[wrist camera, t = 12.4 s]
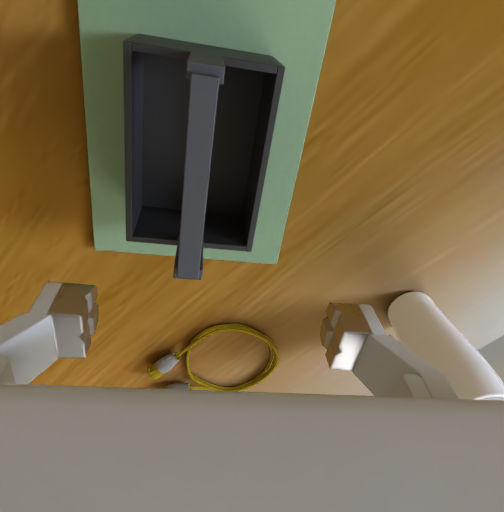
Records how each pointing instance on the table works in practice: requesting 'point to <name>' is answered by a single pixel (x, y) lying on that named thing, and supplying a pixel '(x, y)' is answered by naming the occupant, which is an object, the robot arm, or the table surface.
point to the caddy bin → (196, 144)
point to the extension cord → (171, 360)
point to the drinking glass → (443, 347)
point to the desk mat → (214, 34)
